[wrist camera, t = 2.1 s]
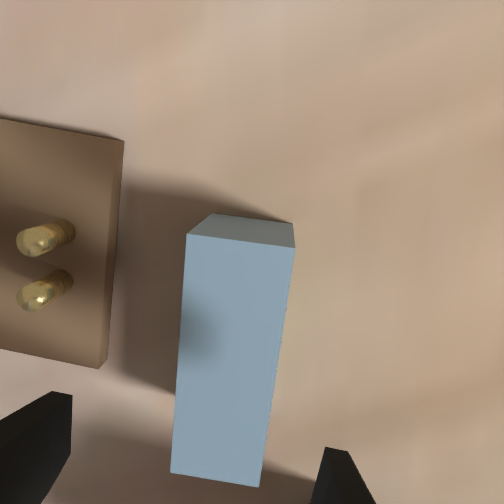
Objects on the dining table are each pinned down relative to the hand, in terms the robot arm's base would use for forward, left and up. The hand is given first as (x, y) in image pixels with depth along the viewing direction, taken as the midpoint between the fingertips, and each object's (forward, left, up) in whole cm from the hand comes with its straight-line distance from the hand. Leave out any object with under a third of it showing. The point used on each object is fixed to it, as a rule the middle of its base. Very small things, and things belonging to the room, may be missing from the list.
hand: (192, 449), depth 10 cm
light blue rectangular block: (-1, 0, -10) cm, 10 cm away
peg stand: (+1, +13, -9) cm, 16 cm away
